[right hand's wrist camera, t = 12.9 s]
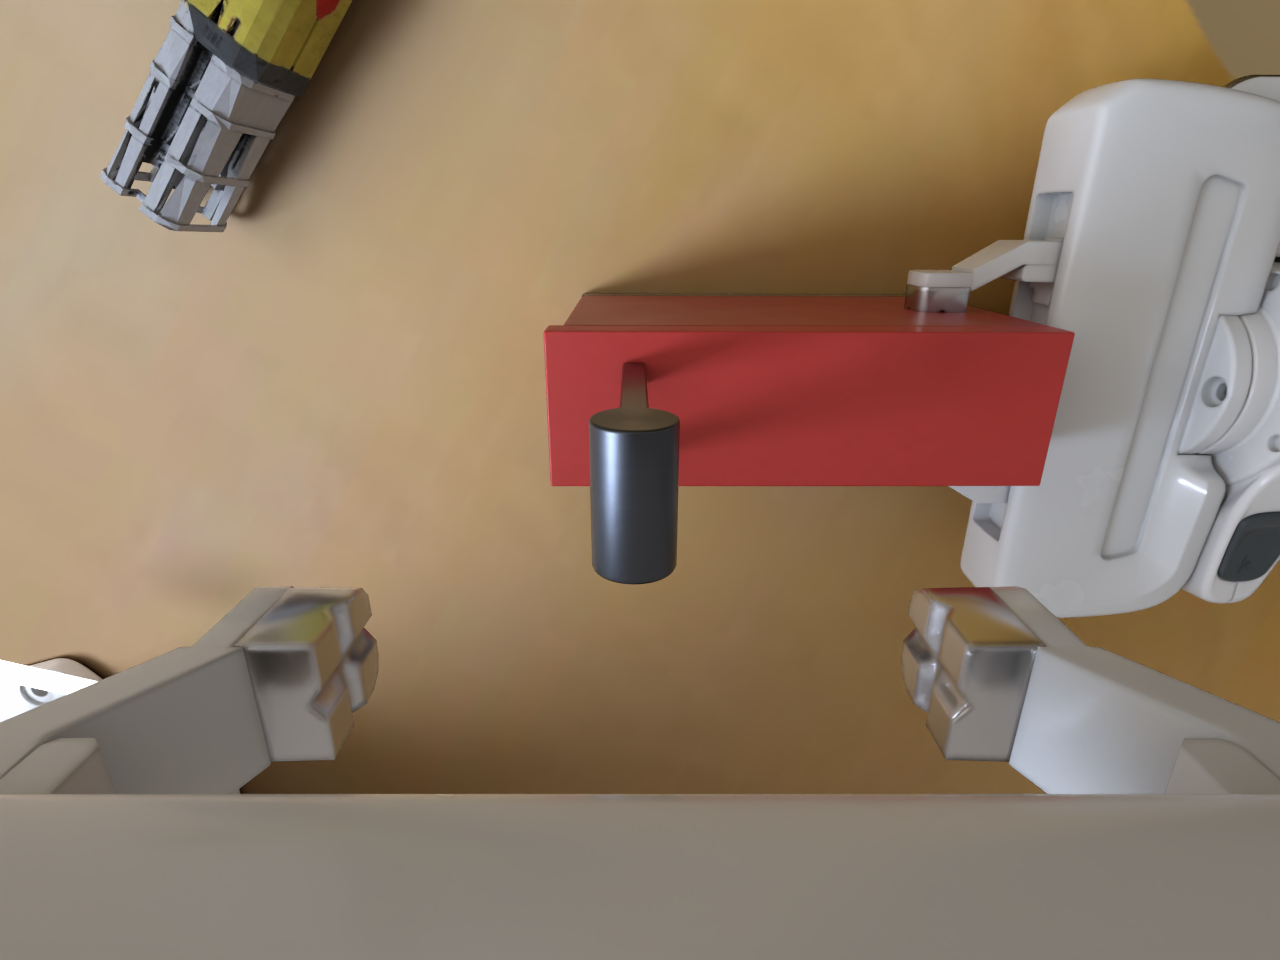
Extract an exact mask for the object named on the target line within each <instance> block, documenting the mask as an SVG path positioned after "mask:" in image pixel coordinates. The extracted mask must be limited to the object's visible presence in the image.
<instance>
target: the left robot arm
mask: <svg viewBox="0 0 1280 960" xmlns="http://www.w3.org/2000/svg"><path fill="white" fill-rule="evenodd" d="M997 278H1004V279H1010V280H1015V285H1014V290H1013V295H1012V300H1011V305H1010V310H1009V315H1008V316H1012V317H1016V318H1020V319H1024V320H1028V321H1032V322H1035V323H1039V324H1043V325H1047V326H1050V327H1055V328H1059V329H1063V330H1067V331H1071V332H1074V333H1075V336H1074V340H1073V344H1072V349H1071V353H1070V357H1069V362H1068V366H1067V370H1066V375H1065V379H1064V383H1063V388H1062V392H1061V396H1060V401H1059V405H1058V409H1057V414H1056V418H1055V422H1054V427H1053V431H1052V435H1051V440H1050V444H1049V448H1048V453H1047V457H1046V461H1045V465H1044V470H1043V474H1042V478H1041V483H1040V485H1039V486H949V487H950V488H952V489H954V490H955V491H957V492H959V493H960V494H962V495H964V496H965V497H967V498H969V499H970V500H972V505H971V510H970V515H969V520H968V526H967V531H966V536H965V541H964V546H963V551H962V555H961V561H960V566H961V569H962V571H963V573H964V574H965V576H966V577H967V578H968V579H969V580H970V582H971V583H972V584H973V585H974V586H975V587H1006V586H1019V587H1022V588H1025V589H1027V590H1028V591H1029V592H1030V593H1031V594H1032V595H1033V596H1034V597H1035V598H1037V599H1038V600H1039V601H1040V602H1041V603H1042V604H1043V605H1044V606H1045V607H1046V608H1047V609H1048V610H1049V611H1050V612H1051V613H1052V614H1054V615H1055V616H1056V617H1057V618H1071V617H1089V616H1102V615H1112V614H1122V613H1129V612H1135V611H1140V610H1144V609H1147V608H1150V607H1153V606H1156V605H1158V604H1160V603H1162V602H1164V601H1166V600H1168V599H1169V598H1171V597H1172V596H1173V595H1175V594H1176V593H1177V592H1178V591H1179V590H1180V589H1182V590H1184V591H1186V592H1188V593H1190V594H1192V595H1194V596H1196V597H1198V598H1200V599H1203V600H1205V601H1207V602H1211V603H1235V602H1239V601H1242V600H1244V599H1246V598H1248V597H1249V596H1250V595H1252V594H1253V593H1254V592H1255V591H1256V590H1257V588H1258V587H1259V586H1260V585H1261V584H1262V582H1263V581H1264V580H1265V578H1266V577H1267V576H1268V574H1269V573H1270V572H1271V570H1272V569H1273V568H1274V566H1275V565H1276V564H1277V562H1278V561H1279V560H1280V75H1249V76H1244V77H1241V78H1238V79H1235V80H1233V81H1231V82H1230V83H1228V84H1226V85H1225V86H1223V87H1220V86H1214V85H1208V84H1201V83H1194V82H1185V81H1177V80H1163V79H1130V80H1123V81H1118V82H1113V83H1109V84H1105V85H1101V86H1098V87H1094V88H1091V89H1088V90H1086V91H1083V92H1081V93H1079V94H1078V95H1076V96H1075V97H1073V98H1072V99H1071V100H1069V101H1068V102H1067V103H1065V104H1064V105H1063V106H1061V107H1060V108H1059V109H1058V110H1057V111H1055V112H1054V113H1053V114H1052V115H1051V116H1050V117H1049V119H1048V121H1047V124H1046V127H1045V131H1044V136H1043V141H1042V146H1041V151H1040V156H1039V162H1038V167H1037V172H1036V177H1035V182H1034V187H1033V193H1032V198H1031V203H1030V208H1029V213H1028V218H1027V223H1026V228H1025V234H1024V239H1023V240H997V241H996V242H994V243H992V244H990V245H989V246H987V247H985V248H983V249H982V250H980V251H978V252H976V253H975V254H973V255H971V256H970V257H968V258H966V259H964V260H963V261H961V262H959V263H957V264H956V265H954V266H952V270H909V274H908V281H907V288H906V296H905V303H904V308H905V309H910V310H911V311H915V312H924V313H938V312H940V311H942V312H945V313H966V308H967V303H968V298H969V293H970V291H973V290H975V289H977V288H979V287H981V286H983V285H985V284H987V283H989V282H991V281H993V280H995V279H997Z"/></svg>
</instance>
